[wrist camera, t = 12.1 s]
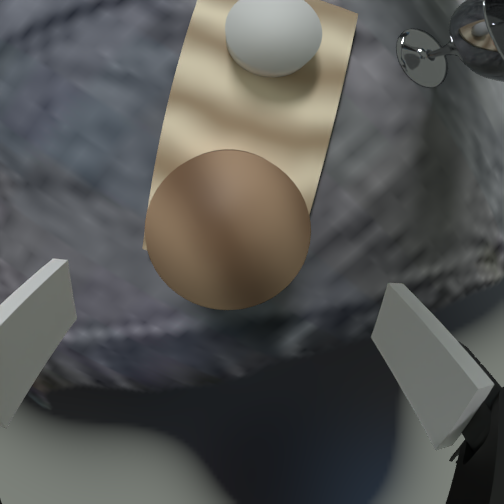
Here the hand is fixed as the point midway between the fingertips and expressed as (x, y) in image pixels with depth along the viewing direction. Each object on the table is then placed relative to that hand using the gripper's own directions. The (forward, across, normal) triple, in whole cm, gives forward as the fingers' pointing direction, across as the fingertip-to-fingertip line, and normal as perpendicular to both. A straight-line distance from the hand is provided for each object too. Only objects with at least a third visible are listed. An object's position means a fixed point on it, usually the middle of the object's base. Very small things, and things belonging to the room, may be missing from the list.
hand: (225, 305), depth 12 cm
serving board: (+20, +1, +8) cm, 21 cm away
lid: (+12, 0, 0) cm, 12 cm away
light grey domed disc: (+18, +2, +16) cm, 24 cm away
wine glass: (+20, +19, +19) cm, 33 cm away
